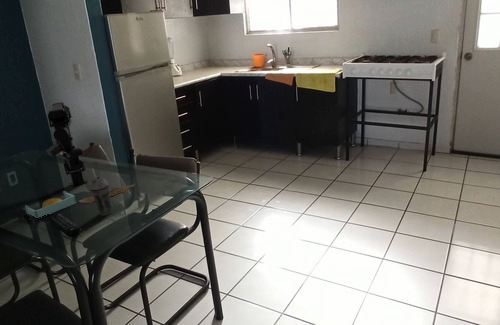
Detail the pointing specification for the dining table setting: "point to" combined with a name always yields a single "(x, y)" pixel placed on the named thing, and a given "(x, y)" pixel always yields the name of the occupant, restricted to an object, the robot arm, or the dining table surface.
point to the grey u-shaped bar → (53, 206)
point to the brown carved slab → (111, 193)
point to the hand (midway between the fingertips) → (72, 168)
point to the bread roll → (50, 202)
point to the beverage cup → (101, 194)
